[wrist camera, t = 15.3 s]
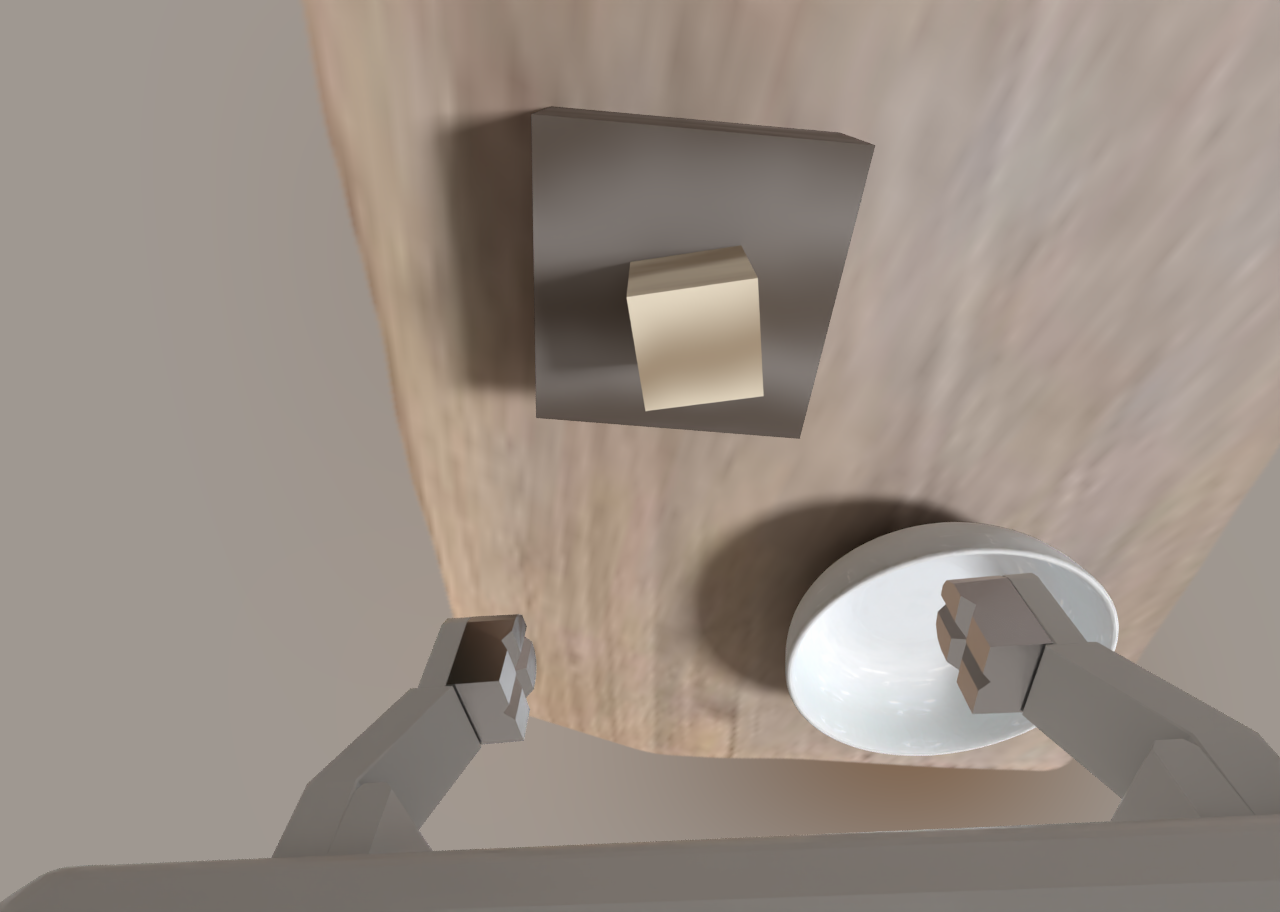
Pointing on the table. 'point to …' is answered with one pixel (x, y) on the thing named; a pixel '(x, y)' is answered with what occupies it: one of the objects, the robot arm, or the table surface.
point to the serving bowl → (916, 636)
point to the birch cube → (696, 328)
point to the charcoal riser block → (684, 252)
